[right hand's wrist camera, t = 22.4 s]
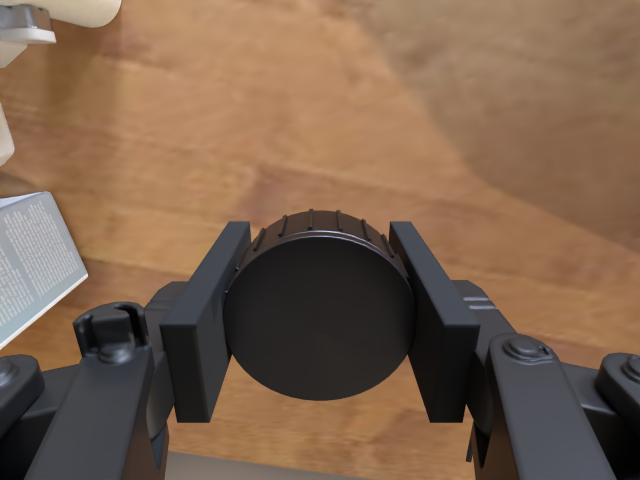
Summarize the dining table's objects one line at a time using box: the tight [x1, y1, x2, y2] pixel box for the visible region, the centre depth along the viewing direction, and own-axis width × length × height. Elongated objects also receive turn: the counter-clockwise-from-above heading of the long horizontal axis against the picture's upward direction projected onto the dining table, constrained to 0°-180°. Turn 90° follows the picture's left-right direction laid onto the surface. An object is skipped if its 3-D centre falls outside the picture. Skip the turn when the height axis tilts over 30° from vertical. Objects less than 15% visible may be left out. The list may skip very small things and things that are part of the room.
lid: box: [223, 209, 417, 401], centre depth 11 cm, size 5×5×2 cm
